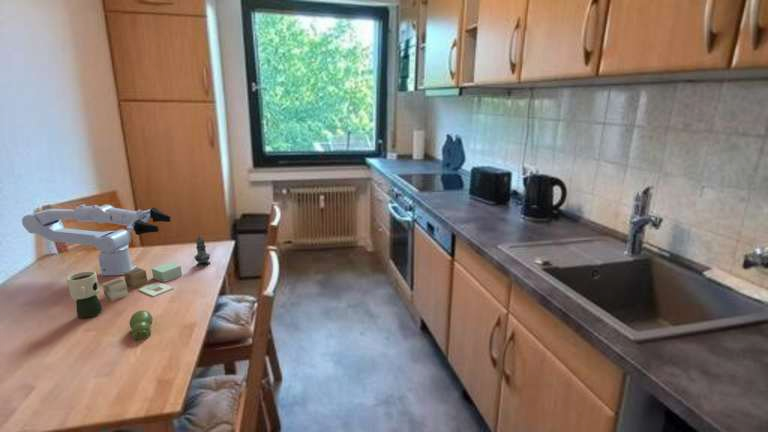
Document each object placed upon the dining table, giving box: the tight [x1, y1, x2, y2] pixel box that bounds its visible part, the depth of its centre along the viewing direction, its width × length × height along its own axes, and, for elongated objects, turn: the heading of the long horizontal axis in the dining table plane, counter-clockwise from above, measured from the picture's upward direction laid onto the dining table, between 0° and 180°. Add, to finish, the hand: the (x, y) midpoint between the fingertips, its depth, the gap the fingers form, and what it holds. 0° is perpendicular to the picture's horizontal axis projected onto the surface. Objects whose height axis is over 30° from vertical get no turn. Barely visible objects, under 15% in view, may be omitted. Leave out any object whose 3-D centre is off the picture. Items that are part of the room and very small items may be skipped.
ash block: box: [101, 278, 129, 302], centre depth 133 cm, size 5×5×5 cm
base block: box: [151, 261, 183, 283], centre depth 148 cm, size 7×7×4 cm
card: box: [138, 281, 174, 298], centre depth 138 cm, size 9×7×1 cm
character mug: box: [66, 270, 103, 318], centre depth 120 cm, size 11×7×13 cm, turn 34°
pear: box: [129, 310, 153, 341], centre depth 112 cm, size 6×5×10 cm
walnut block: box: [123, 267, 149, 289], centre depth 142 cm, size 5×5×5 cm
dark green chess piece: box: [193, 235, 211, 268], centre depth 158 cm, size 6×6×12 cm
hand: (164, 223), depth 147 cm, fingers open, 7 cm apart
